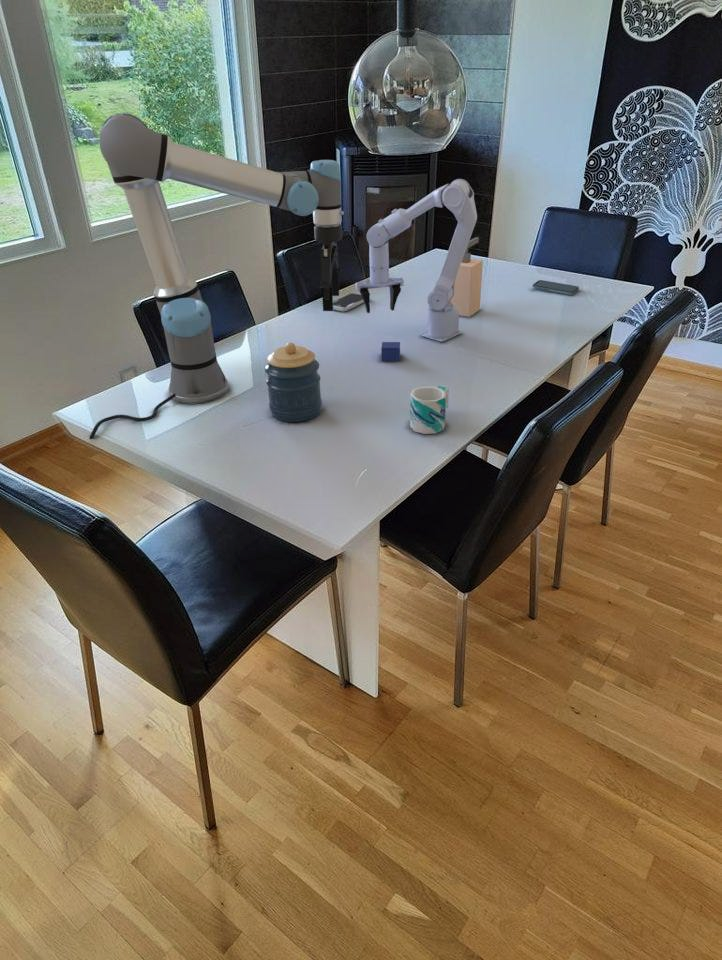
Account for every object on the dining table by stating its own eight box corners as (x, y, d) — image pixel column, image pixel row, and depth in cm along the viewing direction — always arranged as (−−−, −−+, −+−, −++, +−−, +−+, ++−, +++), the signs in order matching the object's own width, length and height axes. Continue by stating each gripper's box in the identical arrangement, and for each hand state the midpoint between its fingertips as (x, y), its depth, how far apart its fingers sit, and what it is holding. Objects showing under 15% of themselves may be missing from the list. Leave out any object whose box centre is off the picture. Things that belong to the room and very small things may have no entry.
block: (399, 361, 190) (399, 347, 188) (381, 361, 191) (381, 347, 188) (400, 355, 194) (400, 341, 192) (382, 355, 194) (382, 341, 192)
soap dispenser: (469, 317, 218) (472, 247, 206) (445, 313, 222) (447, 244, 210) (485, 305, 227) (489, 238, 215) (462, 302, 231) (465, 236, 219)
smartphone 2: (573, 292, 232) (531, 284, 239) (572, 296, 233) (531, 289, 240) (579, 286, 237) (539, 279, 244) (579, 290, 238) (538, 283, 245)
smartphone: (369, 296, 236) (344, 308, 226) (369, 300, 237) (344, 312, 227) (351, 293, 240) (326, 304, 230) (351, 296, 241) (326, 308, 230)
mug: (404, 428, 156) (404, 396, 152) (428, 408, 165) (428, 376, 160) (435, 436, 153) (436, 403, 148) (458, 415, 161) (460, 383, 156)
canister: (275, 426, 159) (266, 357, 150) (266, 403, 170) (257, 337, 160) (328, 418, 162) (323, 349, 153) (316, 396, 173) (310, 330, 163)
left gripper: (336, 235, 168) (339, 317, 179) (347, 214, 189) (349, 289, 200) (306, 235, 168) (311, 317, 180) (320, 214, 189) (324, 289, 201)
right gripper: (358, 272, 195) (360, 317, 203) (406, 267, 198) (406, 312, 205) (353, 265, 201) (355, 310, 209) (400, 261, 204) (400, 305, 211)
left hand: (331, 302), depth 190 cm, fingers open, 13 cm apart
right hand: (380, 310), depth 207 cm, fingers open, 7 cm apart
